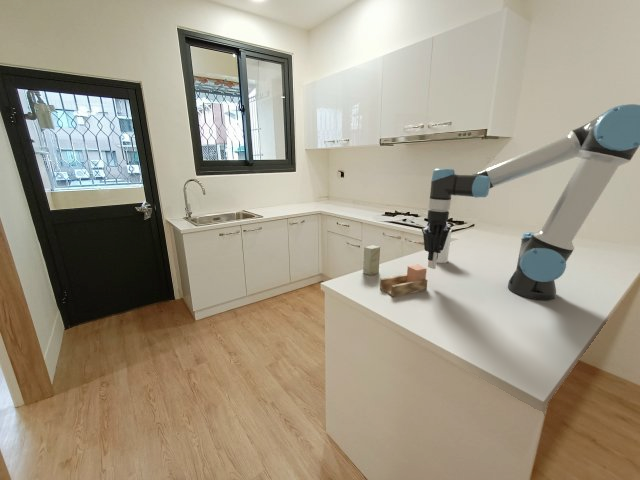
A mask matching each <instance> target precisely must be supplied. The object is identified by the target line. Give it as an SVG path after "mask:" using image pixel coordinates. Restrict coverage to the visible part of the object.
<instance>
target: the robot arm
mask: <svg viewBox="0 0 640 480" xmlns="http://www.w3.org/2000/svg"><path fill="white" fill-rule="evenodd" d="M639 147H640V104H636V103H635V104H634V103H630V104H621V105H617V106H614V107H611V108H609V109H608V110H606V111H605V112H603V113H602V114H600V115H598V116H597V117H595V118H594V119H592V120H591V121H589V122H588V123H587V122H586V124H584V125H582V126H580V127H578V128H574V129H571V131H570V132H568V134H567V135H566V136H564V137H561V138H558V139H557V140H554V141H551V142H549V143H546V144H544V145H541V146H539V147H537V148H534V149H532V150H530V151H527V152H525V153H521V154H519V155H517V156H514V157H512V158H509V159H507V160H505V161H503V162H500V163H498V164H495V165H492V166H491V167H490V166H489V167H488V168H486V169H483V170H480V171H478V172H476V173H472V174H456V172H455V169H454V168H435V169H434V170H433V172H432V177H431V183H430V193H429V203H428V211H427V220H428V222H427V224H426V227H424V228H423V227H422V228H421V233H422V234H423V235H422V236H423V247H424V251H426V252H428V255H427V260H428V261H427V262H428V264H427V268H430V269H432V270H435V269H436V266H437V262H436V261H437V259H438V253H441V251H442V250H443V248H444V245H445V242H446V239H447V236H448V233H449V231H450V230H452V227H451V226H448V224H447V222H448V220H449V217H450V211H449V210H450V208H451V201H452V196H461V197H471V198H473V197H474V198H475V199H476V198H487V197H488V196H489V192H490V190H491V189H492V188H495V187H498V186H500V185H503V184H506V183H508V182H511V181H514V180H517V179H520V178H523V177H524V176H528V175H530V174H533V173H536V172H539V171H542V170H544V169H547V168H550V167H552V166H555V165H558V164H561V163H563V162H566V161H569V160H572V159H574V158H579V159H580V161H579V163H578V165H577V166H576V168H575V170H574V172H573V173H572V174H571V177H570V178H569V180H568V182H567V184H566V185H565V187H564V189H563V191H562V192H561V194H560V197H558V200H557V202H556V203H555V205H554V206H553V209H552V210H551V212H550V214H549V216H547V219H546V221H545V223H544V225H543V226H542V228H541V230H539V231H537V232H531V231H528V232H527V231H526V232H524V233H523V234H522V237H521V239H520V240H521V243H520V246H519V253H518V259H517V262H516V264H517V265H516V269H515V271H514V272H513V274H512V276H510V279H509V280H508V284H507V289H508V290H509V291H511V292H512V293H514V294H516V295H518V296H522V297H524V298H529V299H533V300H538V301H549V300H553V299H555V298H556V295H557V288H556V283H555V280H558V279H559V278H561V277H562V276H563V274H564V273H565V271H566V269H567V261H568V260H569V258H570V256H571V255H572V253H573V252H574V250H575V246H574V244H573V241H574V239H575V237H576V236H577V234H578V232H579V231H580V229H581V228H582V226H583V224H585V221H586V219H587V218H588V216H589V215H590V213H591V211H592V210H593V208H594V207H595V205H596V203H597V202H598V200H599V199H600V197H601V196H602V194H603V192H604V191H605V189H606V187H607V186H608V184H609V183H610V181H611V179H612V177H613V176H614V174H615V173H616V171H617V170H618V168H619V167H620V166H623V165H625V164H629V163H630V162H631V161H632V159H633V157H634V155H635V153H636V152H637V150H638V149H639ZM440 246H441V247H440Z"/></svg>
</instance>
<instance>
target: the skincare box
mask: <svg viewBox="0 0 640 480" xmlns="http://www.w3.org/2000/svg"><path fill="white" fill-rule="evenodd" d="M380 256H381V246H378V245H375V244H372V245H367V246H364V247H363V267H362V269H363V270H362V273H363V274H366V275H368V276H372V275H376V274H379V272H380V259H381V258H380Z"/></svg>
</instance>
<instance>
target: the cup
mask: <svg viewBox="0 0 640 480" xmlns="http://www.w3.org/2000/svg"><path fill="white" fill-rule="evenodd" d="M451 235H452V229H450V231H449V233H448V236H447V239H446V242H445V245H444V248H443V250H442V251H441V253H438V259H437V261H436V264H446V263H448V261H449V254H450V253H449V252H450V246H451ZM440 247H441V246H440Z"/></svg>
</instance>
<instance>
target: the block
mask: <svg viewBox="0 0 640 480" xmlns="http://www.w3.org/2000/svg"><path fill="white" fill-rule="evenodd" d="M406 274H407V282H412V281H418V280H423V279H426V277H427V268H426V267H425V266H422V265H419V264H413V265H408V266H407V272H406ZM426 280H427V279H426ZM407 282H406V283H407Z"/></svg>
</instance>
